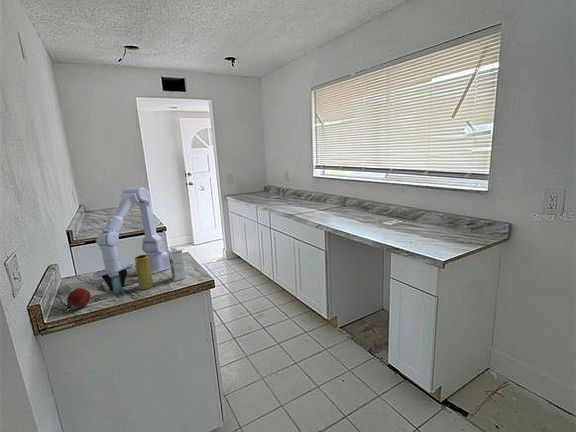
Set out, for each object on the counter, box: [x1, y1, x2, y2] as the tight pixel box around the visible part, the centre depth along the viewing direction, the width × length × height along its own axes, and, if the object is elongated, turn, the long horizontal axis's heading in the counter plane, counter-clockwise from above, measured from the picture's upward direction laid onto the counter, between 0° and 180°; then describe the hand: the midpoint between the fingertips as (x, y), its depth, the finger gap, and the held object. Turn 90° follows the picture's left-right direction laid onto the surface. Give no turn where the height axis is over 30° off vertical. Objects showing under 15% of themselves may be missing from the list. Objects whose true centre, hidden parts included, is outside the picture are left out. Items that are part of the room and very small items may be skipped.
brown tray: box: [101, 271, 138, 293], centre depth 141 cm, size 15×11×2 cm
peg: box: [109, 274, 124, 295], centre depth 131 cm, size 4×4×7 cm
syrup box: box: [167, 246, 187, 282], centre depth 141 cm, size 6×6×14 cm
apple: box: [66, 287, 91, 309], centre depth 119 cm, size 7×8×8 cm
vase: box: [134, 254, 154, 290], centre depth 134 cm, size 6×6×14 cm
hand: (117, 288), depth 131 cm, fingers closed on peg, 4 cm apart
